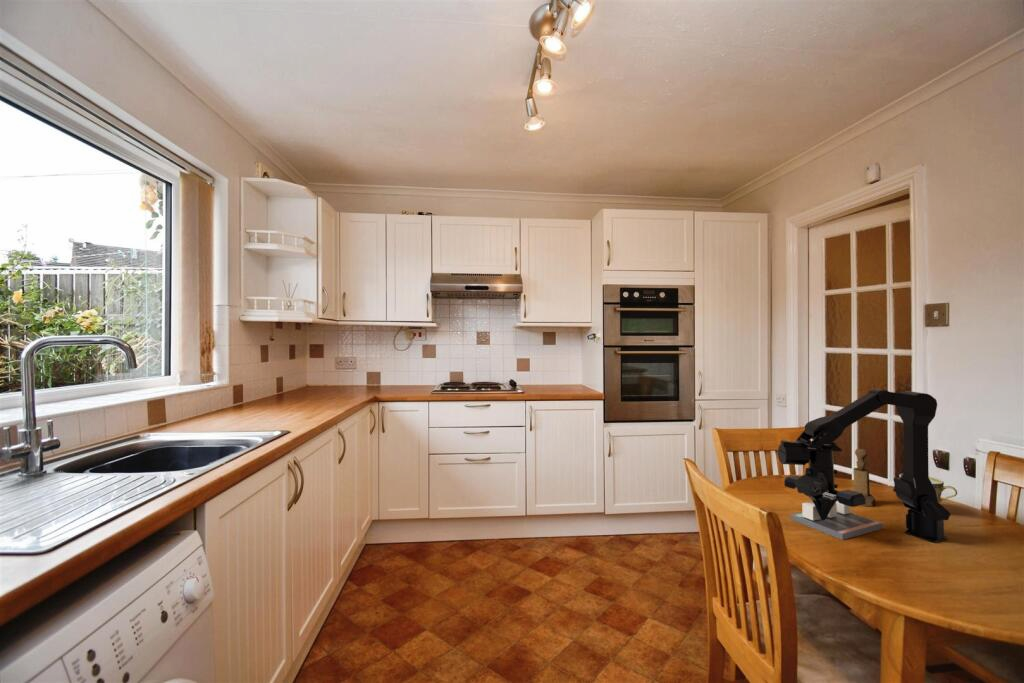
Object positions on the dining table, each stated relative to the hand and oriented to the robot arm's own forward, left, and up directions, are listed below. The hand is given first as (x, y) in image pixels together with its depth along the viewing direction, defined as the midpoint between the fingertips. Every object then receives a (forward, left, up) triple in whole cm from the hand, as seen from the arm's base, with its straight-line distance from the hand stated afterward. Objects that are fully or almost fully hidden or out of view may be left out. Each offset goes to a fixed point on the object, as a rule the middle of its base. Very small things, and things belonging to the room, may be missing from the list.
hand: (823, 519), depth 115 cm
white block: (+3, -13, -1) cm, 13 cm away
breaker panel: (+1, -7, -3) cm, 7 cm away
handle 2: (+3, -7, -1) cm, 7 cm away
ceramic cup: (-4, -43, -3) cm, 43 cm away
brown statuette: (+8, -32, -3) cm, 33 cm away
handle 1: (+3, 0, -1) cm, 3 cm away
